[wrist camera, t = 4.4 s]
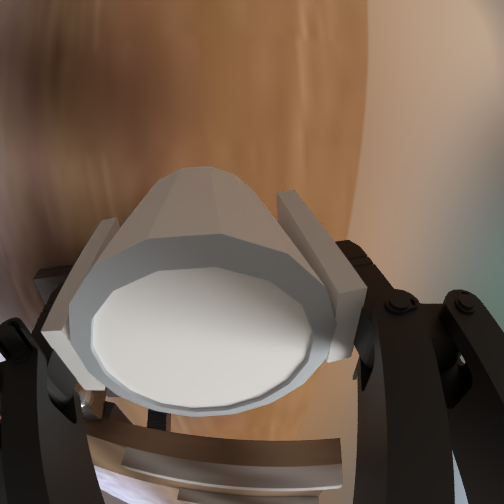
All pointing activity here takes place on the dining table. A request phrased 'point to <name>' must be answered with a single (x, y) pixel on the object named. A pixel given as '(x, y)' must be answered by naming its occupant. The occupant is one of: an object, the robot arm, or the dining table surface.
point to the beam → (215, 463)
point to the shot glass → (201, 302)
